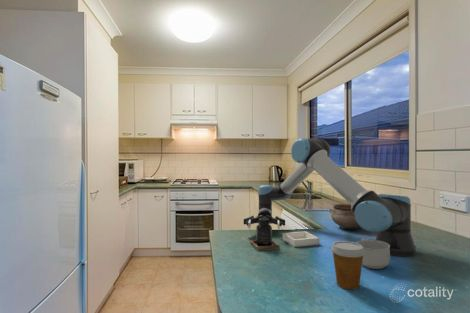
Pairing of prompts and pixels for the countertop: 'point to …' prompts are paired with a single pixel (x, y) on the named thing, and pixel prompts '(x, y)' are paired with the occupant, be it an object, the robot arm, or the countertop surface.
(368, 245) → the teacup
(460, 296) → the countertop surface
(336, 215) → the cooking pot
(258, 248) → the walnut collar
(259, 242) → the supplement bottle
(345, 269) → the disposable coffee cup
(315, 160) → the robot arm
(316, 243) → the cream tray
